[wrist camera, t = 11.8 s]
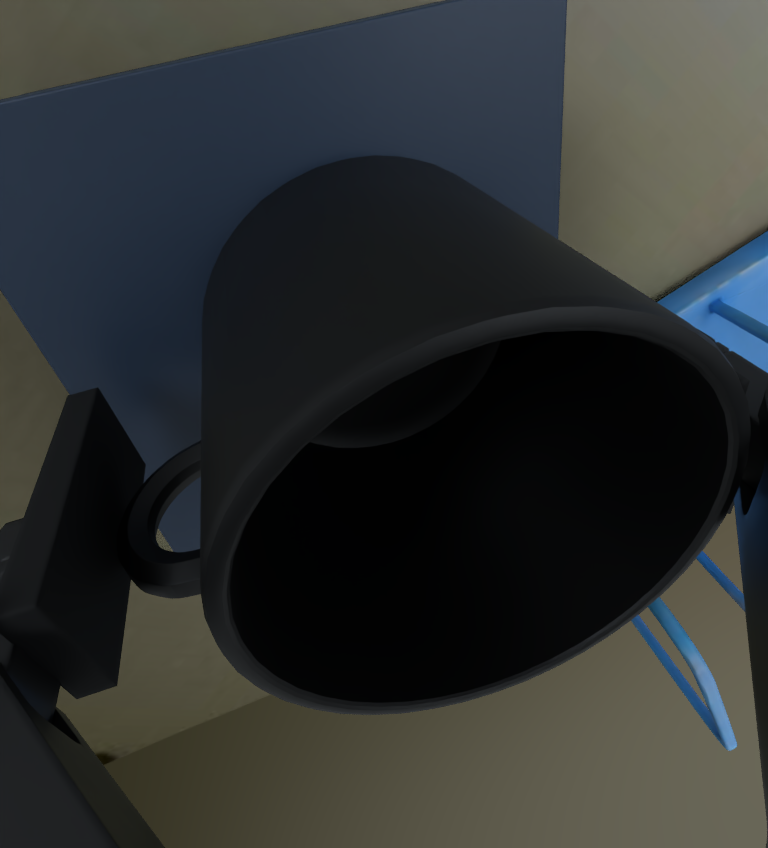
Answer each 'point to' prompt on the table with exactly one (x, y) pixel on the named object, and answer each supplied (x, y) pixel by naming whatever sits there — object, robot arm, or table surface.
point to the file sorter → (764, 347)
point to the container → (246, 181)
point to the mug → (432, 446)
